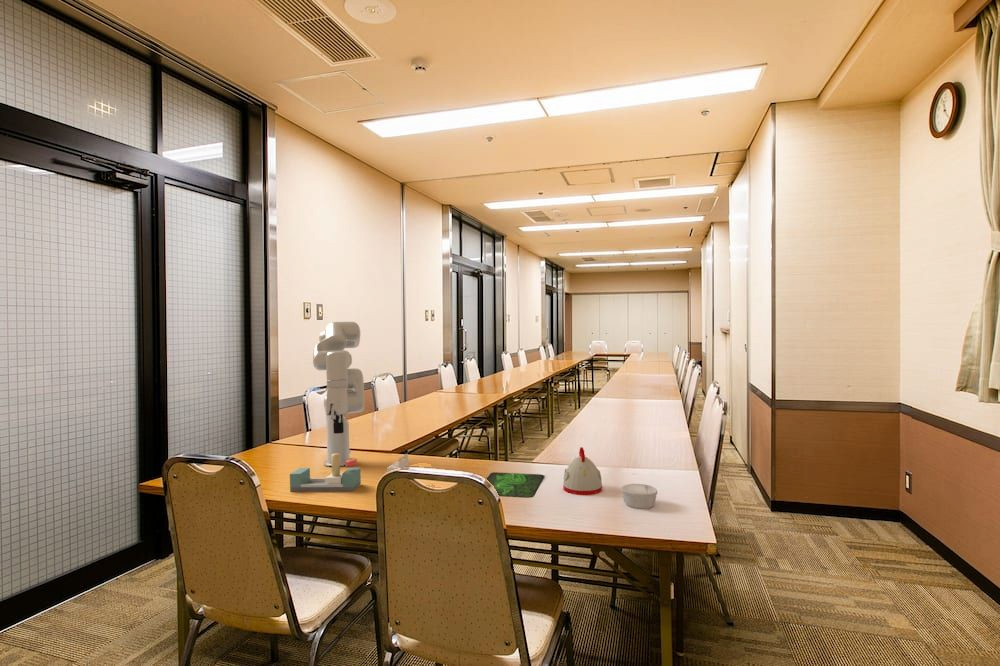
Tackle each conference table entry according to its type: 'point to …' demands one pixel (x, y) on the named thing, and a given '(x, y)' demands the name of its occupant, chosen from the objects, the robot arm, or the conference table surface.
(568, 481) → the kitchen timer
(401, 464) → the white angular piece
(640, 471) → the conference table surface
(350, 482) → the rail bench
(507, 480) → the mouse mat
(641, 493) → the ramekin
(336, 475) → the carriage
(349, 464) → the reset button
